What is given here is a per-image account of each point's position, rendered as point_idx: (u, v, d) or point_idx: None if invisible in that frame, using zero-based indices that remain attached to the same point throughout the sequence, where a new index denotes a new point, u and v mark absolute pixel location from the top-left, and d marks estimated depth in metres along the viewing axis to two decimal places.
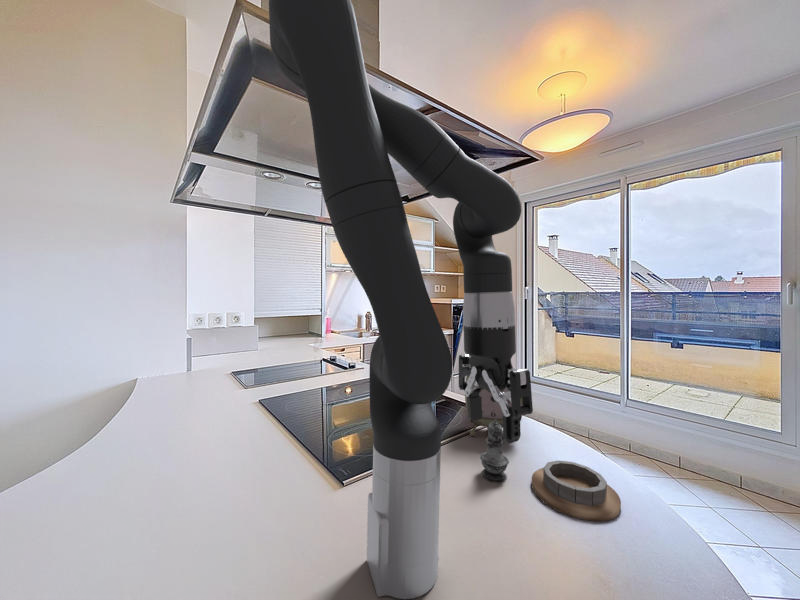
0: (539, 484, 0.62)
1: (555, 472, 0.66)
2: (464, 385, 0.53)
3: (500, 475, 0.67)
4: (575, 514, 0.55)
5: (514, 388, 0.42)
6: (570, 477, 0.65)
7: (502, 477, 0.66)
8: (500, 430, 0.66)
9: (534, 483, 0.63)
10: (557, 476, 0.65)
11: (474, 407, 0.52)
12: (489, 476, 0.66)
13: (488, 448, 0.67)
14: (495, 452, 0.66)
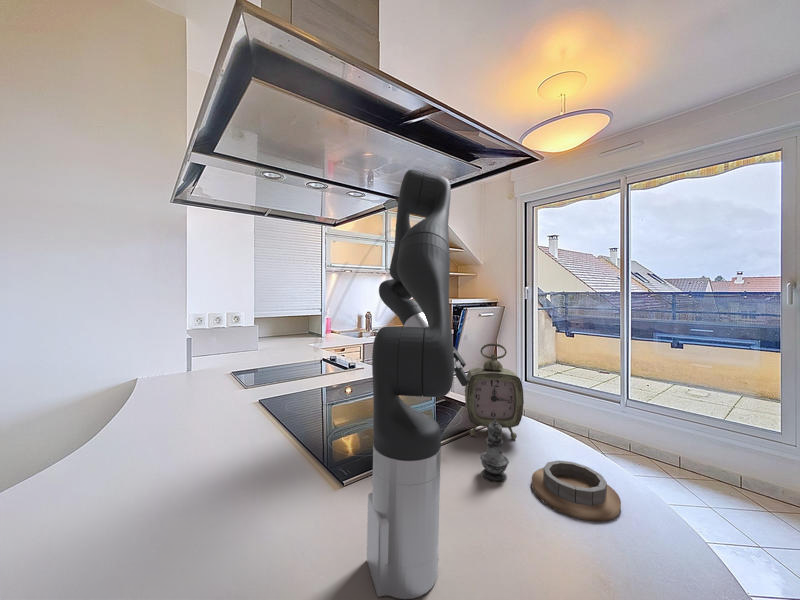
0: (539, 484, 0.62)
1: (555, 472, 0.66)
2: None
3: (500, 475, 0.67)
4: (575, 514, 0.55)
5: (457, 353, 0.84)
6: (570, 477, 0.65)
7: (502, 477, 0.66)
8: (500, 430, 0.66)
9: (534, 483, 0.63)
10: (557, 476, 0.65)
11: None
12: (489, 476, 0.66)
13: (488, 448, 0.67)
14: (495, 451, 0.66)
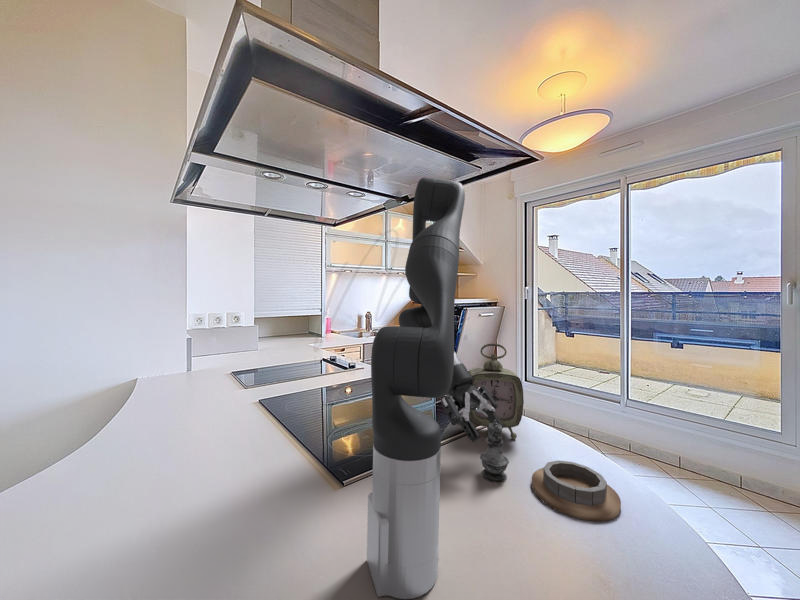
0: (539, 484, 0.62)
1: (555, 472, 0.66)
2: None
3: (500, 475, 0.67)
4: (575, 514, 0.55)
5: (488, 393, 0.76)
6: (570, 477, 0.65)
7: (502, 477, 0.66)
8: (500, 430, 0.66)
9: (534, 483, 0.63)
10: (557, 476, 0.65)
11: None
12: (489, 476, 0.66)
13: (488, 448, 0.67)
14: (495, 452, 0.66)
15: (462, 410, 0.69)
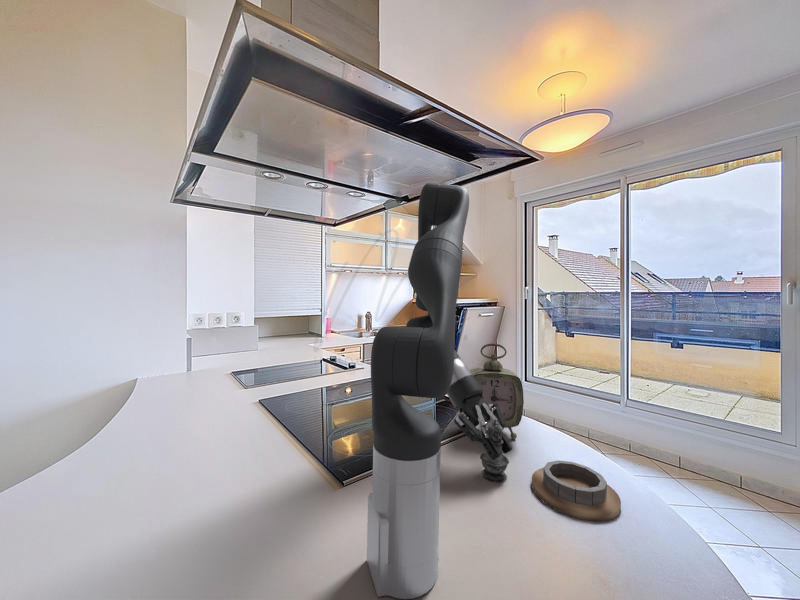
0: (539, 484, 0.62)
1: (555, 472, 0.66)
2: None
3: (500, 475, 0.67)
4: (575, 514, 0.55)
5: (499, 411, 0.73)
6: (570, 477, 0.65)
7: (502, 477, 0.66)
8: (500, 430, 0.66)
9: (534, 483, 0.63)
10: (557, 476, 0.65)
11: None
12: (489, 476, 0.66)
13: None
14: None
15: (479, 427, 0.67)
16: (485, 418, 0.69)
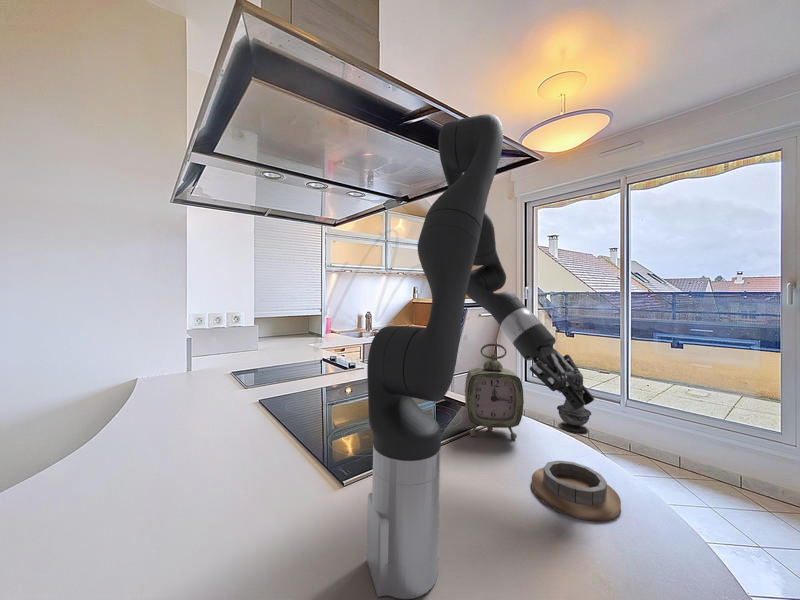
0: (539, 484, 0.62)
1: (555, 472, 0.66)
2: None
3: (581, 427, 0.61)
4: (575, 514, 0.55)
5: (573, 363, 0.67)
6: (570, 477, 0.65)
7: (584, 429, 0.60)
8: (582, 378, 0.61)
9: (534, 483, 0.63)
10: (557, 476, 0.65)
11: None
12: (570, 428, 0.60)
13: None
14: None
15: (557, 375, 0.62)
16: (562, 367, 0.64)
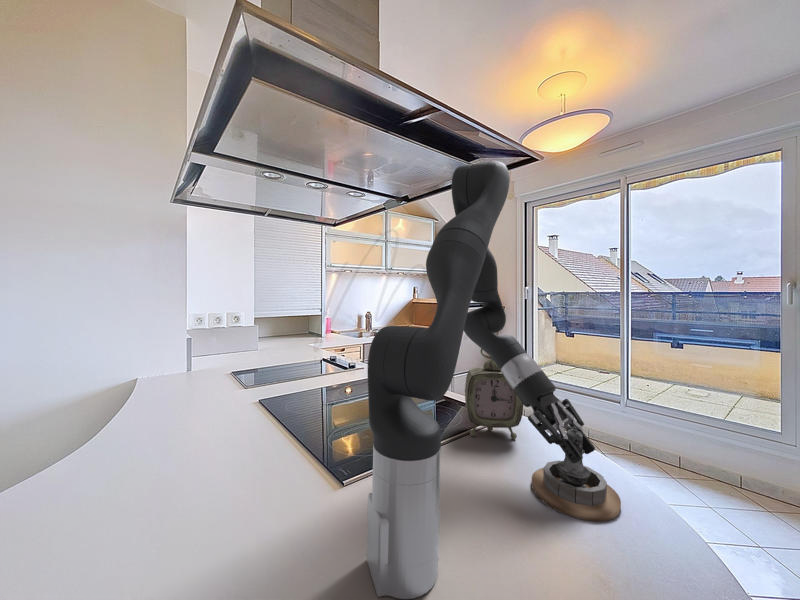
0: (539, 484, 0.62)
1: (555, 472, 0.66)
2: None
3: None
4: (575, 514, 0.55)
5: (572, 408, 0.67)
6: None
7: None
8: (581, 438, 0.60)
9: (534, 483, 0.63)
10: (557, 476, 0.65)
11: None
12: None
13: (567, 457, 0.61)
14: None
15: (555, 426, 0.61)
16: (563, 418, 0.64)
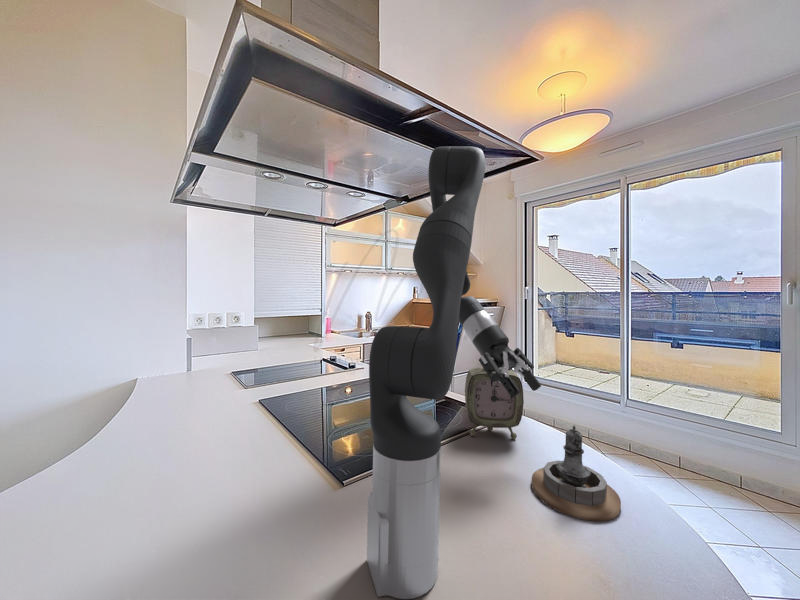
0: (539, 484, 0.62)
1: (555, 472, 0.66)
2: None
3: None
4: (575, 514, 0.55)
5: (523, 355, 0.77)
6: None
7: None
8: (581, 438, 0.61)
9: (534, 483, 0.63)
10: (557, 476, 0.65)
11: None
12: None
13: (567, 457, 0.61)
14: (576, 461, 0.60)
15: (501, 367, 0.70)
16: (515, 364, 0.73)
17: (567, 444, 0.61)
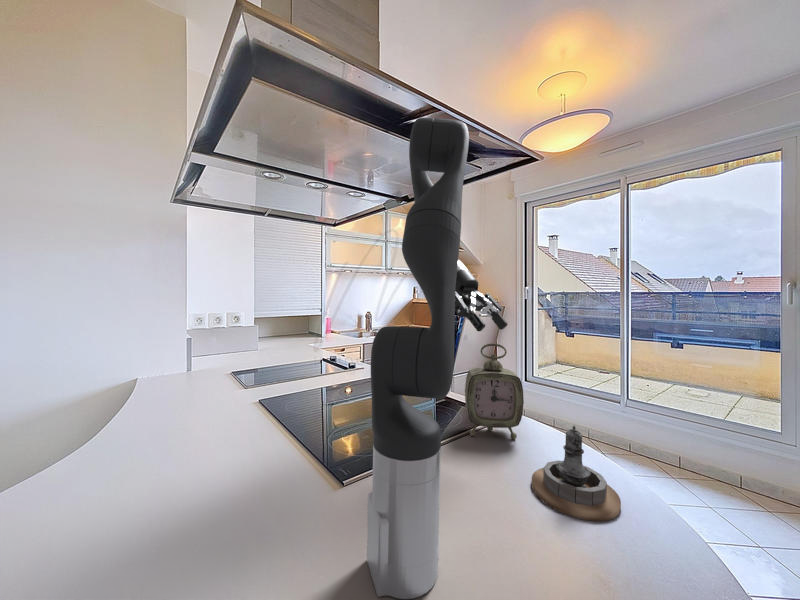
0: (539, 484, 0.62)
1: (555, 472, 0.66)
2: None
3: None
4: (575, 514, 0.55)
5: (493, 299, 0.80)
6: None
7: None
8: (581, 438, 0.61)
9: (534, 483, 0.63)
10: (557, 476, 0.65)
11: None
12: None
13: (567, 457, 0.61)
14: (576, 461, 0.60)
15: (468, 305, 0.73)
16: (483, 304, 0.76)
17: (567, 444, 0.61)
